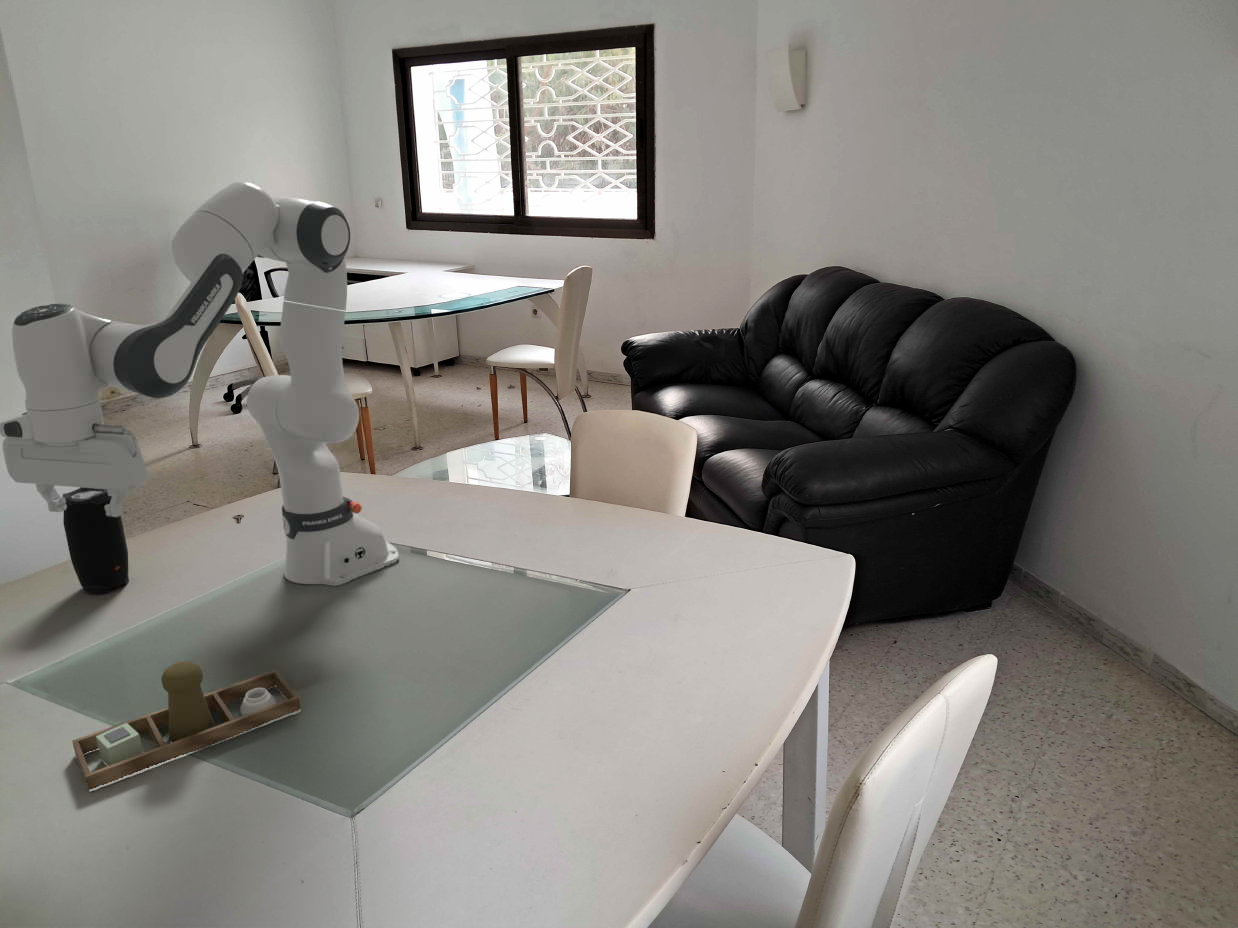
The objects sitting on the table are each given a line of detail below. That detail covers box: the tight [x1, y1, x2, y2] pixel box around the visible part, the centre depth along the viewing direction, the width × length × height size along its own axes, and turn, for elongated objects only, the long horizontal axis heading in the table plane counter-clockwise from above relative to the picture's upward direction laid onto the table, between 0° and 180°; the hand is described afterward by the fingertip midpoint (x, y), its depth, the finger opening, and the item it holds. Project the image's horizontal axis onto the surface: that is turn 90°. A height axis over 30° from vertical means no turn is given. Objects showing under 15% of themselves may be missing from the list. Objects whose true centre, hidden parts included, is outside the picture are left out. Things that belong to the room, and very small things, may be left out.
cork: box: [160, 660, 216, 743], centre depth 124 cm, size 6×6×11 cm
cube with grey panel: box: [96, 723, 144, 766], centre depth 120 cm, size 4×4×4 cm
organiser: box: [72, 669, 302, 791], centre depth 125 cm, size 28×10×2 cm, turn 130°
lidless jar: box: [239, 688, 277, 716], centre depth 131 cm, size 5×3×5 cm
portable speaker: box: [62, 487, 130, 596], centre depth 165 cm, size 9×9×20 cm
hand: (86, 513), depth 128 cm, fingers open, 8 cm apart
